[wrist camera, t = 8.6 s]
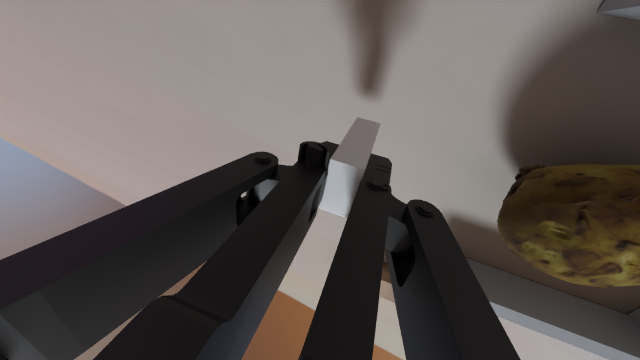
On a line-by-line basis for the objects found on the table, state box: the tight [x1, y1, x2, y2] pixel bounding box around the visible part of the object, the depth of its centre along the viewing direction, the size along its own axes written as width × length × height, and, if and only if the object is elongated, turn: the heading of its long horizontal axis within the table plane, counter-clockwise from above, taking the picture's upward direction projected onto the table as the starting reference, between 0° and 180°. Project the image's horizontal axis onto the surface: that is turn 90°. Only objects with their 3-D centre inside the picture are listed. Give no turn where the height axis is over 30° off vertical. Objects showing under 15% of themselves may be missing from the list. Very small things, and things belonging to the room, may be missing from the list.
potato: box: [497, 164, 640, 288], centre depth 13 cm, size 8×13×8 cm, turn 69°
